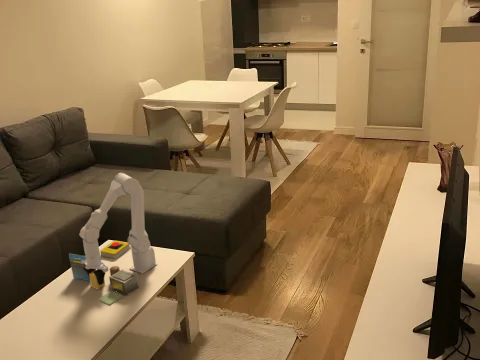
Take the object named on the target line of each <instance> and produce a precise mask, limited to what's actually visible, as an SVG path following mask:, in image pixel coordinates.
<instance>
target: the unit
mask: <svg viewBox="0 0 480 360" xmlns="http://www.w3.org/2000/svg"><path fill="white" fill-rule="evenodd" d="M109 285H110V289H112V290H111V291H113V290H114V291H113V292H116V291H117V292H116V293H118V294H120V293H121V294H120V295H123V296H126V297H127V296H129V295H131V293H133V292H134V291H136V290H138V289H139V288H140V286H139V285H140V284H139V278H138V274H135V273H133V272H130V271H128V270H124V269H120V271H118V272H117V273H115V274H114V275H112V276H111V275H110V276H109Z"/></svg>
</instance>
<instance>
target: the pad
mask: <svg viewBox="0 0 480 360" xmlns="http://www.w3.org/2000/svg"><path fill="white" fill-rule="evenodd" d="M123 297H124V295H123V294H120V293H118V292H116V291H113V290H110V291H108V292H107V293H105V294H103V295H102V296H100V297H99V298H97V301H99V302H101V303H104V304H106V305H108V306H111V305H112V304H114V303H115V302H117V301H118V300H120V299H121V298H123Z"/></svg>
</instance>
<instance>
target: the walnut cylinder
mask: <svg viewBox="0 0 480 360" xmlns="http://www.w3.org/2000/svg"><path fill="white" fill-rule="evenodd" d="M120 270H121V269H120V266H118V265H112V266H111V267H110V268H109V274H110V276H112V275H114V274H115V273H117V272H118V271H120Z"/></svg>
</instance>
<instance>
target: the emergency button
mask: <svg viewBox="0 0 480 360" xmlns="http://www.w3.org/2000/svg"><path fill="white" fill-rule="evenodd" d="M130 249H132V248H131V245H129V243H128V242H126V241H120V240H113V241H112V242H110V243H109V244H107V245H106V246H105V247H103V248H102V249H101V250H100V249H99V251H100V257H101V260H103V261H108V262H114V261H115V260H117V259H118V258H120V257H121V256H123V254H125V253H127V252H128V251H129V250H130Z"/></svg>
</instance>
